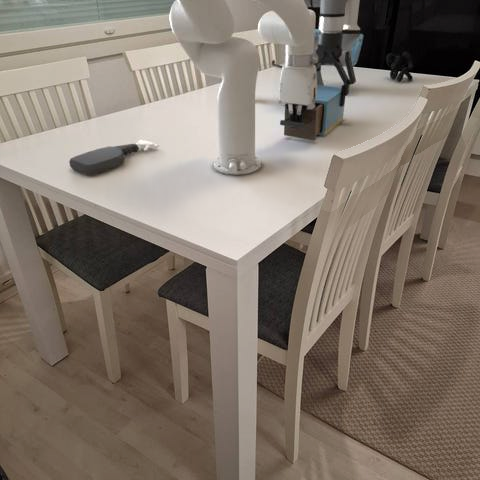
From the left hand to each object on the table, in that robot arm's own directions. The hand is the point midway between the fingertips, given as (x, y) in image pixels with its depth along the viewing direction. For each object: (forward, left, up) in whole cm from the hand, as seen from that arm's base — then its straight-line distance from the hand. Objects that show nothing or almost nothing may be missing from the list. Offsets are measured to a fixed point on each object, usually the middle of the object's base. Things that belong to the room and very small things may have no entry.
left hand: (295, 126), depth 131 cm
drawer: (+8, -4, -4) cm, 10 cm away
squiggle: (+78, -58, -5) cm, 97 cm away
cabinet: (+17, -10, -5) cm, 20 cm away
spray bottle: (-9, +51, -5) cm, 52 cm away
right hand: (+22, -13, +1) cm, 25 cm away
